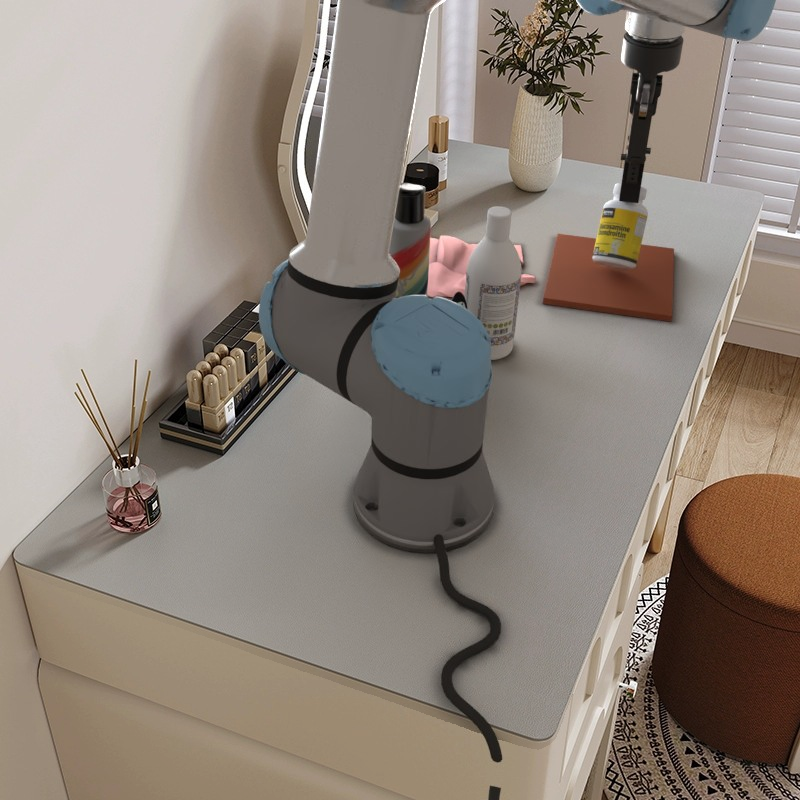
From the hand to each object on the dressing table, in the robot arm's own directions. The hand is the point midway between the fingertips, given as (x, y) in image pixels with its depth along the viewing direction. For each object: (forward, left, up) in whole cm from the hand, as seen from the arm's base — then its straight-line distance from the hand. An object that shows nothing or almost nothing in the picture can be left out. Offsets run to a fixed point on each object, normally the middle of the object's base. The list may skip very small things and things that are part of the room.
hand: (628, 199), depth 146 cm
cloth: (-4, +22, -13) cm, 25 cm away
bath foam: (-24, +16, -13) cm, 31 cm away
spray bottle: (-20, +28, -13) cm, 36 cm away
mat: (-1, +1, -12) cm, 12 cm away
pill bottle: (-3, +1, -10) cm, 10 cm away
